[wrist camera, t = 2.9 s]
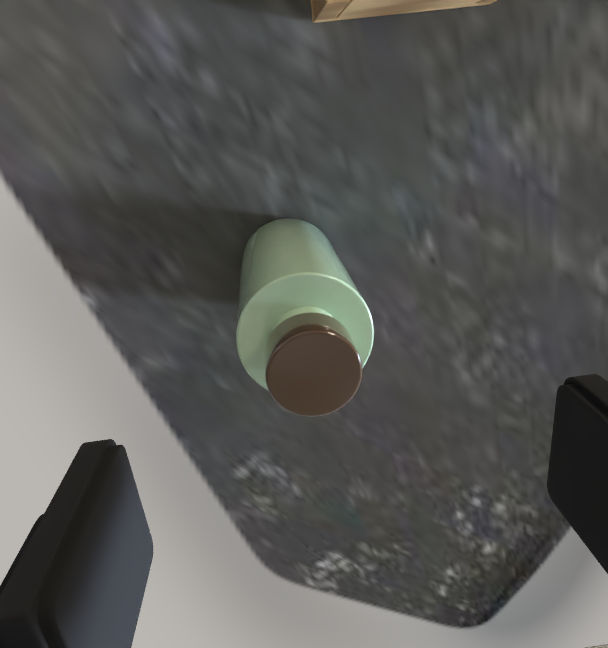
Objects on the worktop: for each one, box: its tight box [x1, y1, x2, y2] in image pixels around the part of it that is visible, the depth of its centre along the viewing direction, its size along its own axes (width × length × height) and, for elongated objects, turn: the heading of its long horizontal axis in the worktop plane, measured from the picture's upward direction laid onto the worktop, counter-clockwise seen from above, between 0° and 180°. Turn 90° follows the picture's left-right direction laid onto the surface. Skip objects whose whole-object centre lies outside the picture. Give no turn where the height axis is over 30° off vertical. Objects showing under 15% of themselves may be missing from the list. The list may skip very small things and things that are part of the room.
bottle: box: [236, 218, 374, 416], centre depth 20 cm, size 5×5×12 cm
